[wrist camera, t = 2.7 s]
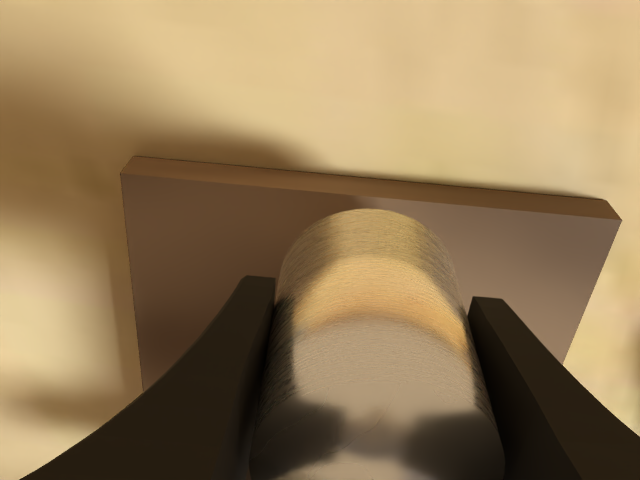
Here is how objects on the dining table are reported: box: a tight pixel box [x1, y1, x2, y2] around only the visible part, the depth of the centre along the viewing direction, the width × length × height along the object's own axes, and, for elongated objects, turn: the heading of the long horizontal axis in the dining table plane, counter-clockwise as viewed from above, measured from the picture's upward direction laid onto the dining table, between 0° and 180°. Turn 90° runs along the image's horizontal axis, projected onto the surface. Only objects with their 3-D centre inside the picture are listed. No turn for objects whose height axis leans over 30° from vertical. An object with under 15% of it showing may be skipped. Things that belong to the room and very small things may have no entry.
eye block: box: [120, 156, 622, 480], centre depth 15 cm, size 12×12×7 cm
